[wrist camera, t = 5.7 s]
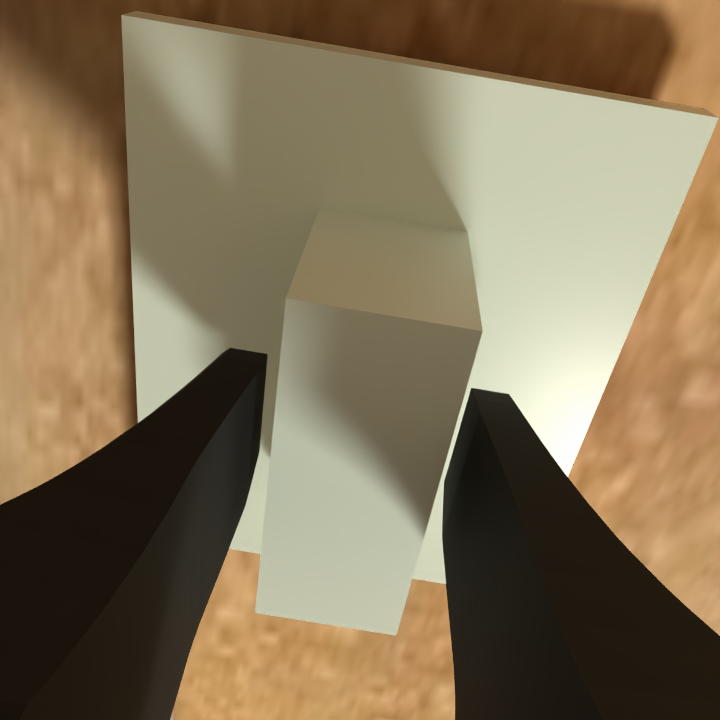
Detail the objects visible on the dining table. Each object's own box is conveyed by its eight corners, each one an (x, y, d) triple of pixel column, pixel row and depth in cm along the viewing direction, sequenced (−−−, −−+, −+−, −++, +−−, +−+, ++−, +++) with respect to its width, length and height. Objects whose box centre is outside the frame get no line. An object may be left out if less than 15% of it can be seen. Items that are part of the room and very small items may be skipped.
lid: (510, 548, 17) (538, 736, 13) (162, 491, 16) (81, 664, 13) (686, 97, 11) (834, 189, 7) (154, 6, 11) (2, 47, 7)
